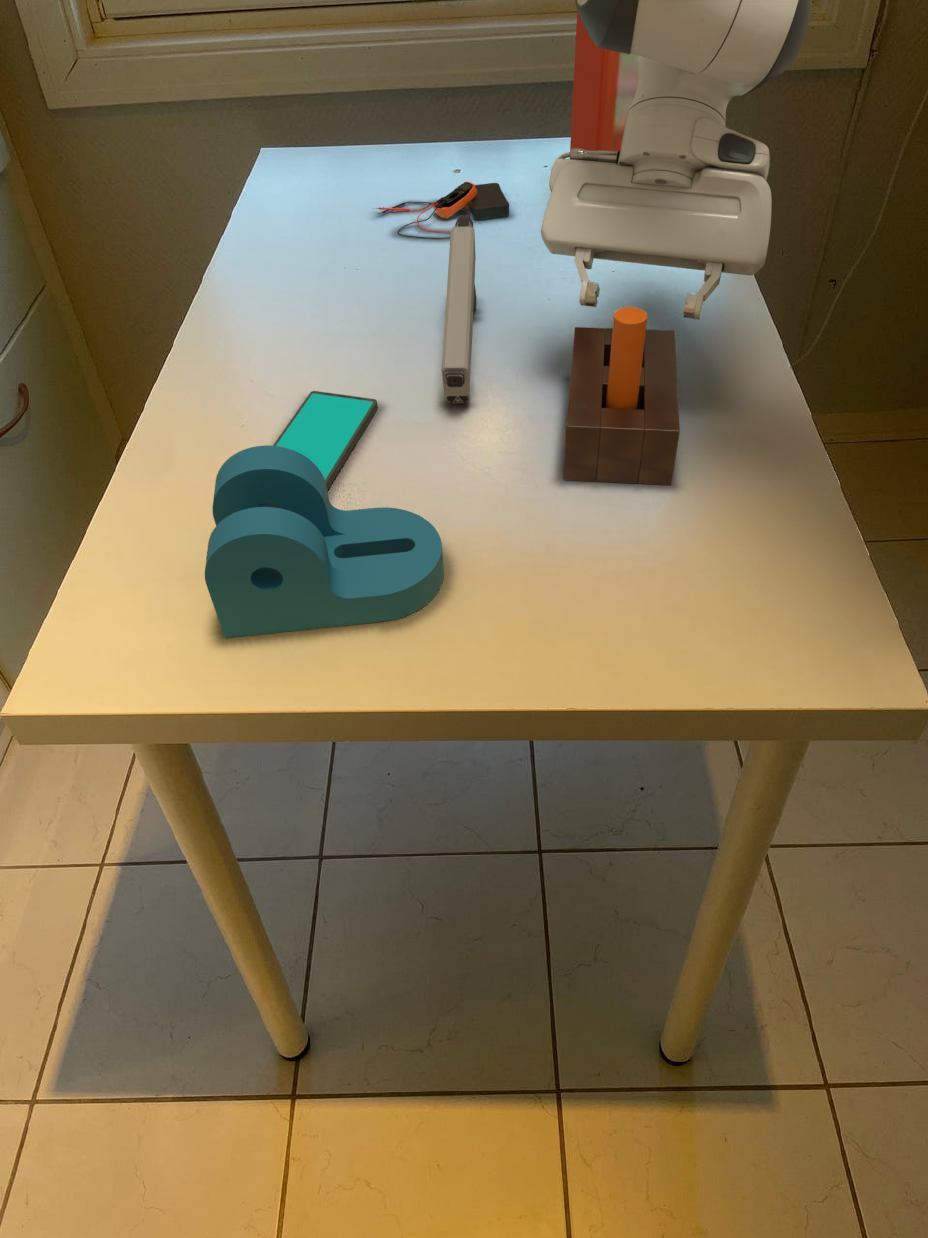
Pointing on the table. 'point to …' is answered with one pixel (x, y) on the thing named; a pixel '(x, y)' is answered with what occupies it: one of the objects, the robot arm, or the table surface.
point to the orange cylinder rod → (626, 358)
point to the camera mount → (310, 551)
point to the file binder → (600, 94)
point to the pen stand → (622, 413)
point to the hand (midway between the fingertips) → (638, 310)
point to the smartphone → (327, 429)
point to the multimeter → (465, 203)
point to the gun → (459, 312)
